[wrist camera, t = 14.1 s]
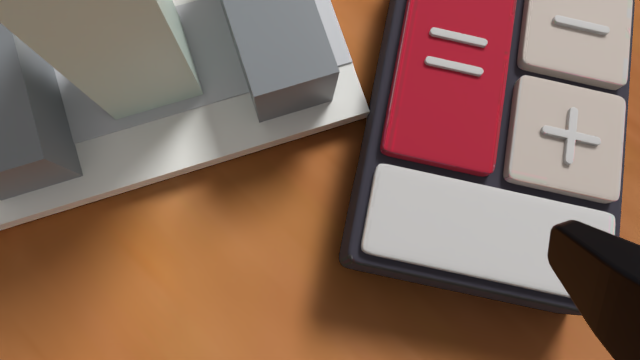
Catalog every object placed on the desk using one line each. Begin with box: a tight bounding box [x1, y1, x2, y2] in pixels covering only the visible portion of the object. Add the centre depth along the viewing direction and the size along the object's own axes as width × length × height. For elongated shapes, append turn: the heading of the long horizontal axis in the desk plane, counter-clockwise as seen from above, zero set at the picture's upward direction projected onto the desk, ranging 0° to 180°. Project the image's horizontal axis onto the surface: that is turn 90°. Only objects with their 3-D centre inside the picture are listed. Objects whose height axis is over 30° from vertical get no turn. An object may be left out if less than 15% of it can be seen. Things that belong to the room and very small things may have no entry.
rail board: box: [0, 0, 370, 230], centre depth 21 cm, size 18×10×4 cm, turn 109°
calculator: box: [339, 0, 635, 315], centre depth 23 cm, size 11×4×15 cm
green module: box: [0, 0, 203, 120], centre depth 18 cm, size 4×4×10 cm
